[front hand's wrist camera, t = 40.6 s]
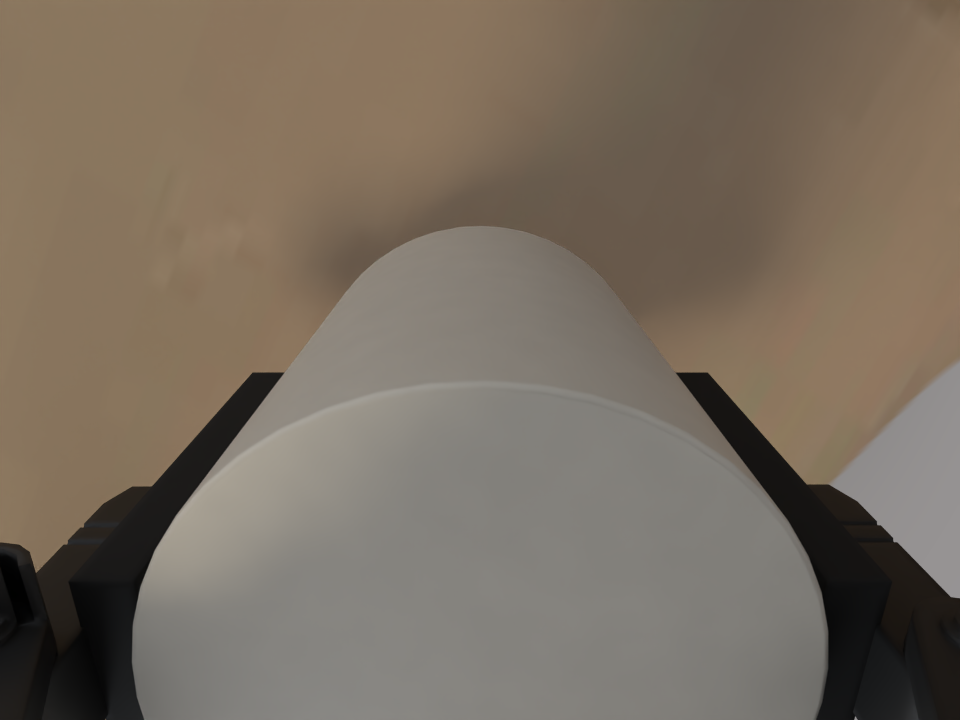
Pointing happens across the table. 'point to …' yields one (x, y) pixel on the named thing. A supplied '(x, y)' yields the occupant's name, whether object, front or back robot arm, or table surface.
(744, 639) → the can
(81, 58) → the table surface
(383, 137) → the table surface
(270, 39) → the table surface
